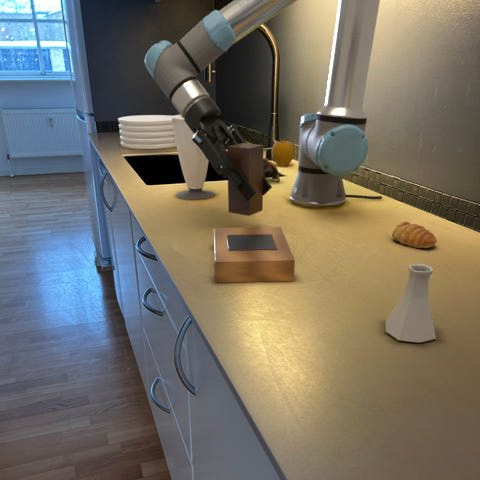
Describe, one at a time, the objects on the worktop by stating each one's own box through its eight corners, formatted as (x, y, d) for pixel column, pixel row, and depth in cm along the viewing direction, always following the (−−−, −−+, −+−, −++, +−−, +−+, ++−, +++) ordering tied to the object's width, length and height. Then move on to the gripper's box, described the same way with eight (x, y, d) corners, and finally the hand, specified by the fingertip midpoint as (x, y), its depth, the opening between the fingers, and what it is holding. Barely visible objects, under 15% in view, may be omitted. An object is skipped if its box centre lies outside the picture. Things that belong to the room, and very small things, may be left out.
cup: (201, 202, 142) (198, 119, 132) (168, 197, 147) (162, 116, 137) (222, 193, 151) (221, 115, 141) (190, 189, 156) (187, 113, 146)
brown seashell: (282, 186, 162) (270, 164, 157) (255, 198, 165) (243, 177, 160) (282, 169, 170) (271, 148, 166) (257, 181, 174) (245, 160, 169)
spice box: (228, 212, 113) (227, 146, 107) (242, 207, 117) (242, 143, 111) (248, 216, 110) (249, 148, 104) (262, 210, 114) (263, 145, 108)
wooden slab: (279, 245, 109) (280, 225, 107) (293, 281, 91) (294, 259, 90) (214, 246, 109) (214, 227, 107) (215, 282, 91) (215, 260, 89)
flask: (377, 321, 77) (385, 259, 73) (423, 319, 78) (435, 257, 73) (394, 345, 71) (404, 278, 66) (444, 343, 71) (458, 276, 67)
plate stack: (111, 148, 229) (108, 120, 223) (133, 139, 253) (131, 114, 248) (171, 149, 224) (170, 121, 219) (188, 140, 249) (186, 115, 244)
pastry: (443, 246, 108) (446, 229, 106) (421, 252, 105) (424, 234, 103) (409, 235, 115) (411, 218, 113) (387, 240, 112) (389, 223, 110)
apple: (272, 163, 195) (272, 138, 191) (294, 163, 194) (295, 139, 190) (270, 167, 188) (270, 142, 184) (293, 167, 187) (294, 142, 183)
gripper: (213, 117, 120) (271, 196, 119) (159, 125, 107) (224, 214, 106) (231, 93, 115) (292, 175, 114) (177, 98, 101) (245, 191, 100)
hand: (259, 194), depth 110 cm, fingers closed on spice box, 5 cm apart
